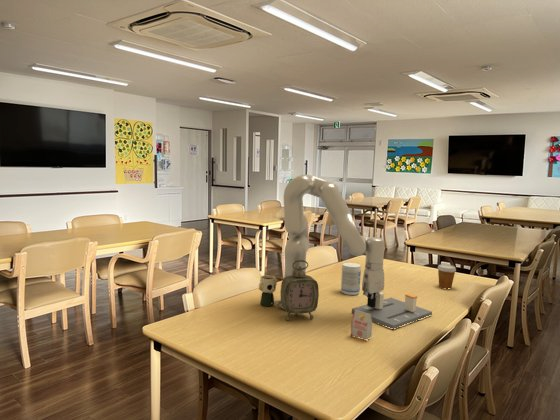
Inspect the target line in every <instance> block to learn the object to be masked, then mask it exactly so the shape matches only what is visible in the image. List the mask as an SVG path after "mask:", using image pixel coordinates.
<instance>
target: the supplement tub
mask: <svg viewBox="0 0 560 420" xmlns="http://www.w3.org/2000/svg"><path fill="white" fill-rule="evenodd" d="M361 269H362V268H361V264H359V263H355V262H344V263H342V266H341V282H340V291H341V293H342V294H344V295H346V296H347V295H348V296H355V295H359V294H360V290H361V289H360V288H361V274H362V272H361V271H362V270H361Z"/></svg>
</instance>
